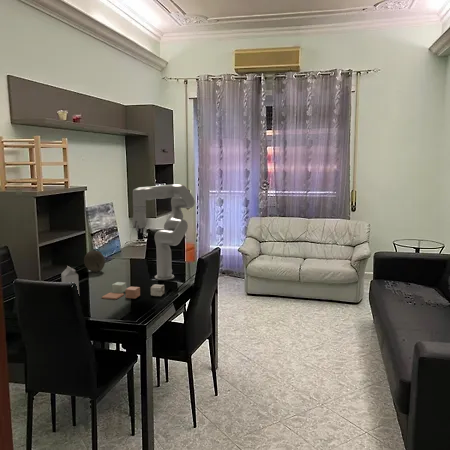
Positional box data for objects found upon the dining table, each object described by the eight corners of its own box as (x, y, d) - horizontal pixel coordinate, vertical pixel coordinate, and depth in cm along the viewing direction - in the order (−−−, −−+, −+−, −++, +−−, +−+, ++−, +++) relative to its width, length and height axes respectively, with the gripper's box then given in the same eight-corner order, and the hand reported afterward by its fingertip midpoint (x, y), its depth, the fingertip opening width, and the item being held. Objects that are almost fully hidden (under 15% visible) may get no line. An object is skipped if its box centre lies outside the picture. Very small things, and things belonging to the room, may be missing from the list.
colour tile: (109, 293, 262) (109, 292, 262) (123, 294, 260) (123, 293, 260) (101, 298, 253) (101, 296, 253) (116, 299, 251) (116, 298, 251)
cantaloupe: (108, 269, 320) (107, 248, 318) (101, 274, 307) (100, 252, 304) (89, 269, 322) (88, 248, 320) (80, 274, 308) (79, 252, 306)
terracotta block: (130, 294, 260) (130, 286, 259) (140, 295, 259) (139, 287, 258) (125, 297, 254) (125, 289, 254) (135, 298, 253) (135, 290, 252)
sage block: (117, 290, 270) (117, 281, 269) (126, 290, 268) (126, 282, 268) (112, 292, 264) (112, 284, 264) (121, 293, 263) (121, 285, 262)
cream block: (154, 292, 264) (154, 284, 264) (164, 293, 263) (164, 284, 262) (150, 295, 258) (150, 287, 258) (160, 296, 257) (160, 287, 256)
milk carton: (66, 303, 245) (64, 269, 242) (62, 300, 250) (60, 266, 248) (79, 301, 249) (77, 267, 246) (75, 297, 255) (73, 264, 252)
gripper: (139, 207, 279) (140, 237, 282) (128, 210, 265) (129, 241, 268) (150, 208, 278) (151, 237, 280) (140, 210, 263) (141, 241, 266)
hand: (140, 239), depth 274 cm, fingers closed
